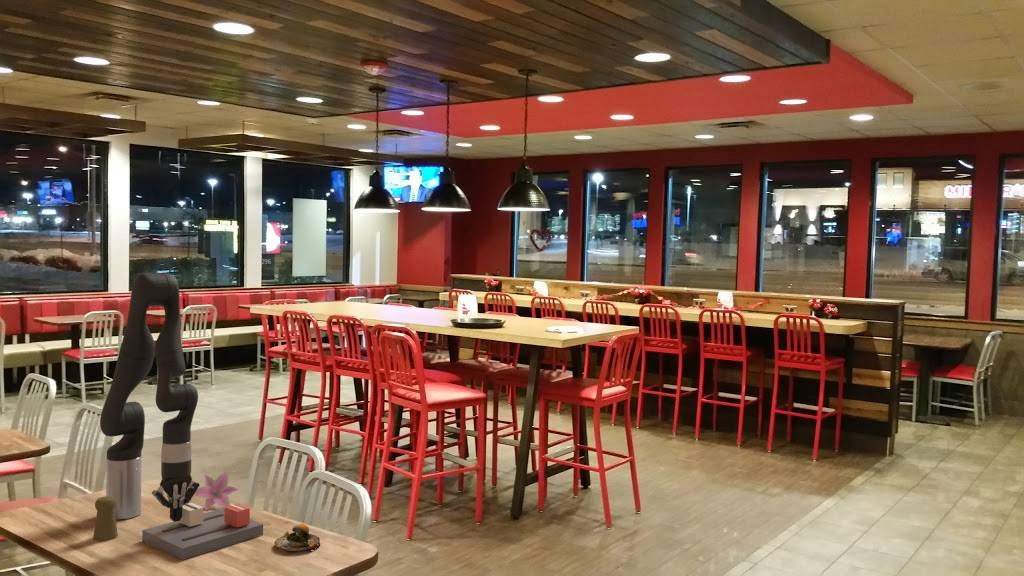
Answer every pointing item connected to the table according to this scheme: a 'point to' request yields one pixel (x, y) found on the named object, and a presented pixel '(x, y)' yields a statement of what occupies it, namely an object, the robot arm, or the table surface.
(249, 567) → the table surface
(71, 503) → the table surface
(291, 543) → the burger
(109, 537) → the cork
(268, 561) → the table surface
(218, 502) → the lily
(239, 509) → the block
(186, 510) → the block
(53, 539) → the table surface
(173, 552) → the console
